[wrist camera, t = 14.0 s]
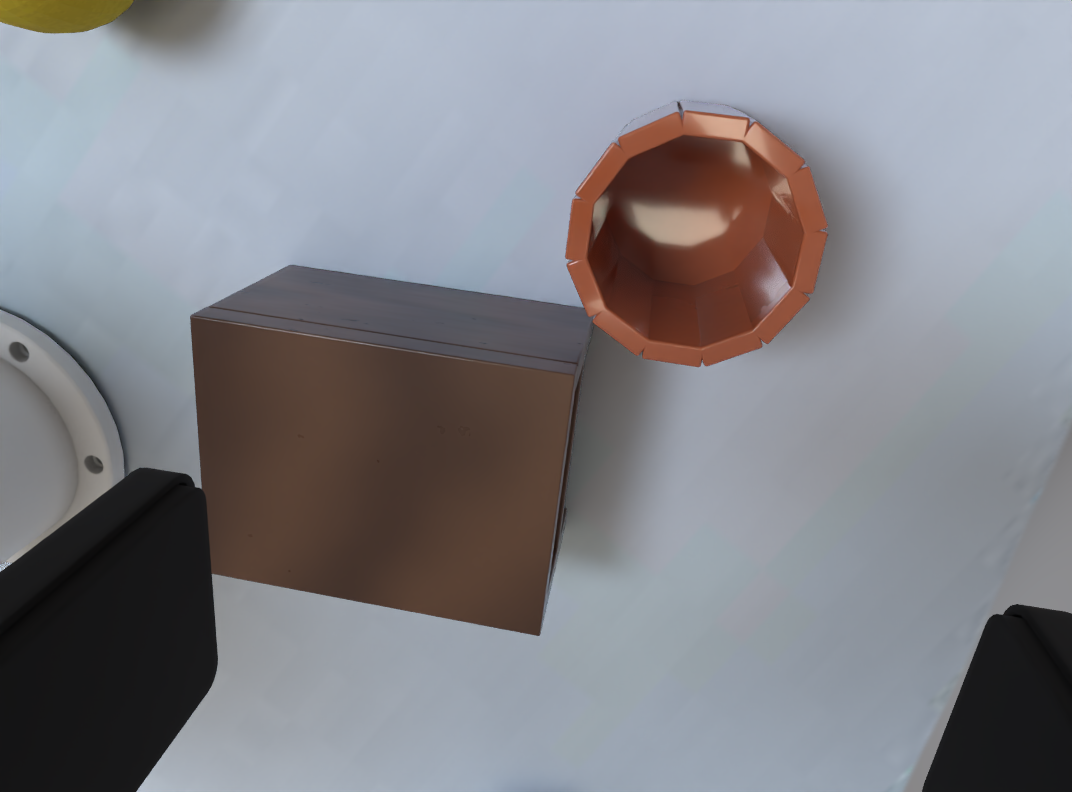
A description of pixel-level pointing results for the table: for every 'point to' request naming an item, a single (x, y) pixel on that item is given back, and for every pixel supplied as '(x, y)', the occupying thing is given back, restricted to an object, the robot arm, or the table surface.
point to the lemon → (61, 14)
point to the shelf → (389, 441)
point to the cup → (695, 235)
